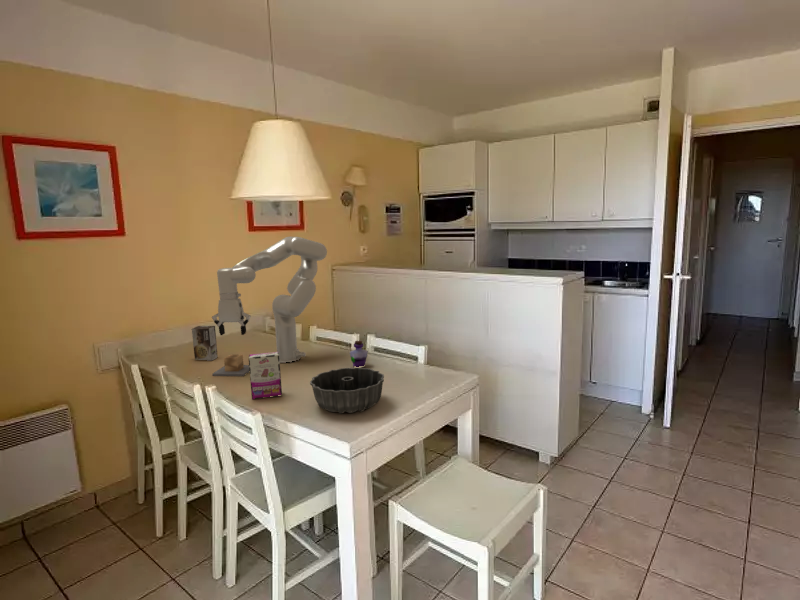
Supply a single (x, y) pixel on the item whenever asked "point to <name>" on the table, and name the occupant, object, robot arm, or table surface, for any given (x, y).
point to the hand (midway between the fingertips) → (233, 334)
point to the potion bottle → (358, 354)
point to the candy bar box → (265, 375)
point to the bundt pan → (347, 389)
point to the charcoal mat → (232, 372)
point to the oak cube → (233, 362)
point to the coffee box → (204, 343)
